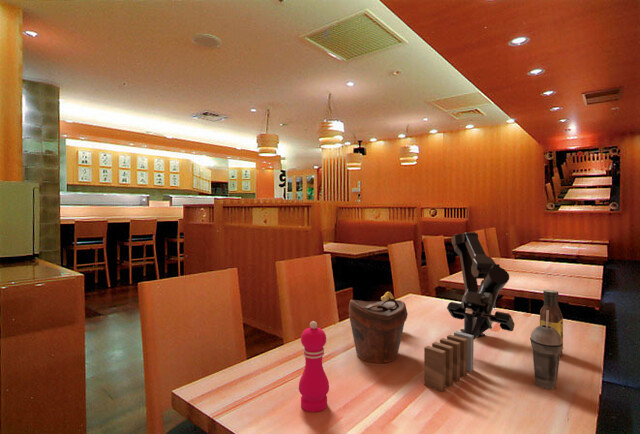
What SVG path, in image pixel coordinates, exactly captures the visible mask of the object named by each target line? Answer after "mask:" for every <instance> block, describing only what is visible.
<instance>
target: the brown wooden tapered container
mask: <svg viewBox="0 0 640 434" xmlns="http://www.w3.org/2000/svg"><path fill="white" fill-rule="evenodd" d="M348 303H349V306H348V313H349V314H348V318H349V322H350V327H351V332H352V333H351V334H352V336H353V342H354V347H355V353H356V356H357V357H359V359H361V360H363V361H366V362H370V363H375V364H376V363H377V364H381V363H382V364H385V363H390V362H393V361H395V360H396V359H397V358H398V356H399V351H400V346H401V341H402V337H403V331H404V327H405V324H406V323H405V322H406V321H407V319H408V310H407V306H406V303H405V302H404V301H402V300H398V299H397V300H396V299H395V298H394V299H389V300H387V301H382V300H381V301H365V300H357V299H352V298H351V299H350V300H349V302H348Z"/></svg>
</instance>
